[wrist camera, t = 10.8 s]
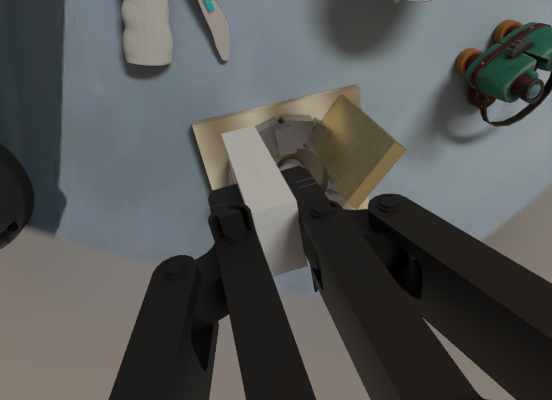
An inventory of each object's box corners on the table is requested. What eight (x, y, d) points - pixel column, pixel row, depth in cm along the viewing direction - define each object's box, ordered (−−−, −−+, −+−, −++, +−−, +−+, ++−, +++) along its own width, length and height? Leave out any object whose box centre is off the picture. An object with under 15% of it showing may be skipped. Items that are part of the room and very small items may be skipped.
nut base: (229, 240, 50) (231, 262, 47) (192, 122, 42) (190, 137, 39) (366, 207, 51) (378, 226, 47) (355, 84, 43) (369, 95, 39)
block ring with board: (303, 242, 50) (332, 326, 38) (205, 194, 45) (203, 275, 33) (393, 129, 44) (461, 187, 32) (292, 59, 39) (329, 96, 27)
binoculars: (533, 164, 40) (508, 88, 34) (470, 122, 48) (441, 56, 43) (620, 107, 38) (608, 18, 32) (539, 74, 46) (518, -1, 41)
